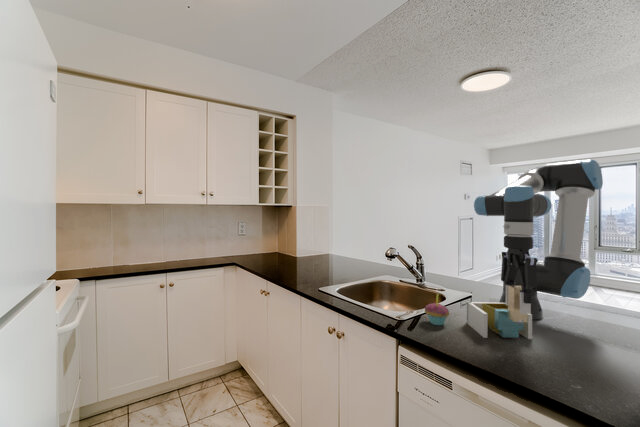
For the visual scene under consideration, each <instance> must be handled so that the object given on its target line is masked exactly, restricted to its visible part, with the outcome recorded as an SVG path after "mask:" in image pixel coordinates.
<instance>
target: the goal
mask: <svg viewBox="0 0 640 427" xmlns="http://www.w3.org/2000/svg"><path fill="white" fill-rule="evenodd" d="M482 303H498V304H506V303H499V301H498V302H494V301H493V302H491V301H490V302H489V301H488V302H487V301H486V302H485V301H484V302H483V301H466V324H467V325H469V327H471V328H472V329H473V330H474V331H475V332H476V333H477V334H479V335H480V336H481V337H482V338H484V339H485V338H486V339H487V338H488V328H489V326H488V314H487V313H486V312H484V311H483V307H482ZM519 335H521V336H523V337H524V338H526V339H528V340H533V319H532V315H531V314H528V317H527V322H524V330H519Z"/></svg>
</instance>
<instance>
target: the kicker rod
mask: <svg viewBox="0 0 640 427" xmlns="http://www.w3.org/2000/svg"><path fill="white" fill-rule="evenodd" d="M519 290H522V288H521V286H515V285H508V309H495V328H497V329H498V330H499V334H498V335H499V336H501V337H502V338H515V339H516V338H517V339H519V338H520V337H519V336H520V333H519V330H524V322H527V317H528V314H521V313H520V291H519Z"/></svg>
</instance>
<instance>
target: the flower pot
mask: <svg viewBox="0 0 640 427" xmlns="http://www.w3.org/2000/svg"><path fill="white" fill-rule="evenodd" d="M498 303H499V302H498ZM498 303H482V307H483V311H484V312H486V313H487V314H488V328H489V329H490V331H493V332H494V333H496V334H498V335H499V330H498V329H497V328H495V309H508V306H507V305H506V304H498Z"/></svg>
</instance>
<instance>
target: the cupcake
mask: <svg viewBox="0 0 640 427" xmlns="http://www.w3.org/2000/svg"><path fill="white" fill-rule="evenodd" d="M449 312H450V311H449V309H448V308H447V306H445V305H444V304H441V303H439V293H438V292H437V294H436V302H432V303H429V304H427V305H426V306H424V313H425V314H427V317H428V319H429V323H430V324H431V325H435V326H443V325H444V324H445V321H446V319H447V318H448V316H449V315H450V313H449Z"/></svg>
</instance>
